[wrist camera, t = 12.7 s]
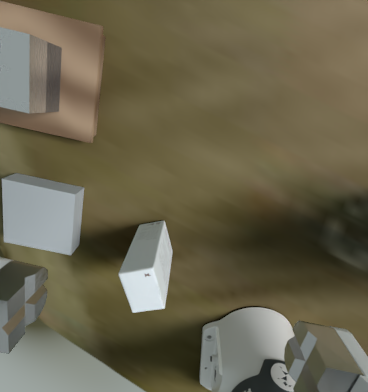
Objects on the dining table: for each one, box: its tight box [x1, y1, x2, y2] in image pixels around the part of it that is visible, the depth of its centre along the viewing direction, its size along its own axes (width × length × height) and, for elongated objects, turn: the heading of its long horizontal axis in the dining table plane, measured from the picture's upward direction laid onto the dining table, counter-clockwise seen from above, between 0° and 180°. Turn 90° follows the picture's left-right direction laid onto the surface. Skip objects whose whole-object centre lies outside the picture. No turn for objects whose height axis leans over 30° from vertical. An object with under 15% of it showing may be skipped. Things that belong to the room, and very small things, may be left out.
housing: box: [0, 27, 62, 113], centre depth 27 cm, size 7×4×6 cm, turn 168°
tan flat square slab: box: [0, 1, 105, 143], centre depth 31 cm, size 13×13×3 cm
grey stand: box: [2, 173, 84, 255], centre depth 37 cm, size 10×10×3 cm
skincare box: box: [119, 221, 173, 313], centre depth 34 cm, size 6×4×12 cm
